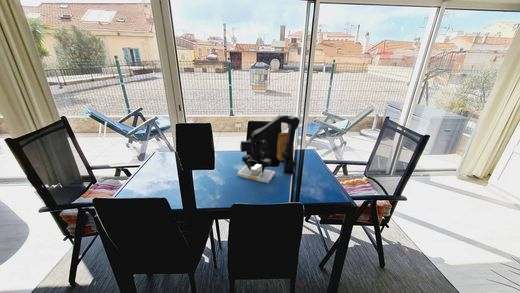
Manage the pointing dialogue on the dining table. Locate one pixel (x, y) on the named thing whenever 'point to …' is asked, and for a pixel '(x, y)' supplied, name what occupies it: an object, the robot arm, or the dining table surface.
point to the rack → (262, 177)
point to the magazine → (265, 149)
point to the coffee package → (282, 145)
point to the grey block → (256, 170)
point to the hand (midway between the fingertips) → (256, 171)
